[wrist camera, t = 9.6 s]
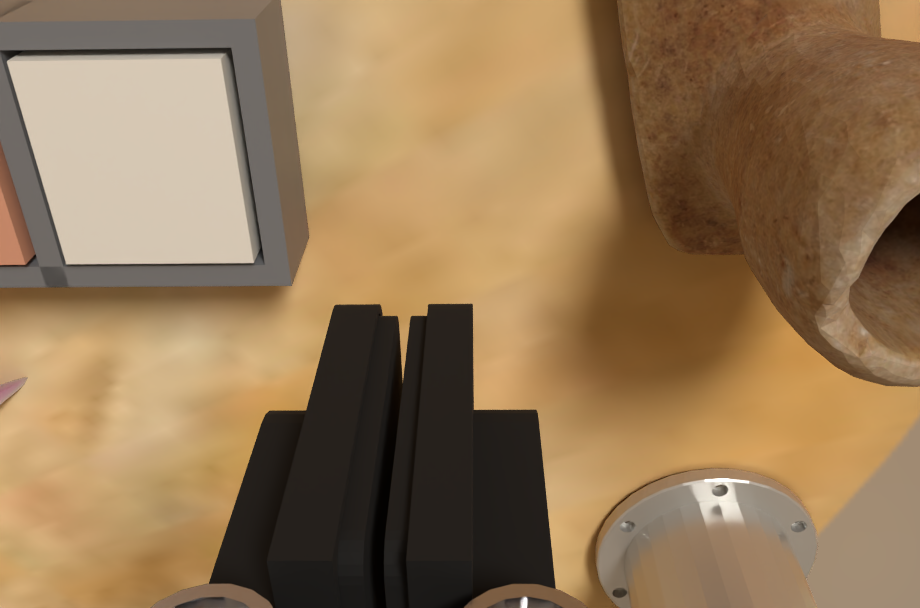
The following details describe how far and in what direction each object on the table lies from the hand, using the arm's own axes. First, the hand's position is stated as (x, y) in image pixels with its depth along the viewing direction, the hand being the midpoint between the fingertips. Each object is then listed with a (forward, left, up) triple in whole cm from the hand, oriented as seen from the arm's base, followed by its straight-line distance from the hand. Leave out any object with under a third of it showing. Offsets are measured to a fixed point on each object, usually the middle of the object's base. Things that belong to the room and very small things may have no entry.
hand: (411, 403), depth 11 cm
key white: (-6, +12, -25) cm, 28 cm away
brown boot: (-4, -13, -27) cm, 31 cm away
